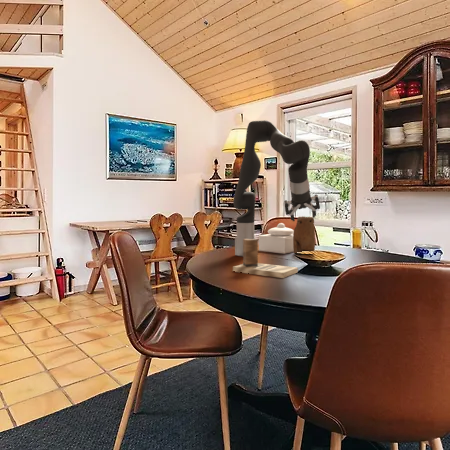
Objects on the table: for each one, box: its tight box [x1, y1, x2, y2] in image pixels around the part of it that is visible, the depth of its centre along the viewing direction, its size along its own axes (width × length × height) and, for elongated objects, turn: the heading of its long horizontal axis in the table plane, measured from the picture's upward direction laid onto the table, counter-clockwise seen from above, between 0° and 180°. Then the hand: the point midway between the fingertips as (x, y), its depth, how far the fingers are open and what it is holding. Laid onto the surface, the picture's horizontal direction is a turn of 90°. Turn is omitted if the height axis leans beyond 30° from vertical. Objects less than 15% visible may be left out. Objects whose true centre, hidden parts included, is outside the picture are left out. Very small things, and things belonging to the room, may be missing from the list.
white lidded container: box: [258, 222, 294, 255], centre depth 219 cm, size 18×18×16 cm
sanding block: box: [242, 238, 259, 267], centre depth 161 cm, size 5×5×11 cm
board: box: [232, 262, 299, 279], centre depth 158 cm, size 23×13×2 cm, turn 55°
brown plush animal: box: [293, 216, 316, 254], centre depth 204 cm, size 11×8×20 cm
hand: (303, 218), depth 164 cm, fingers open, 8 cm apart
